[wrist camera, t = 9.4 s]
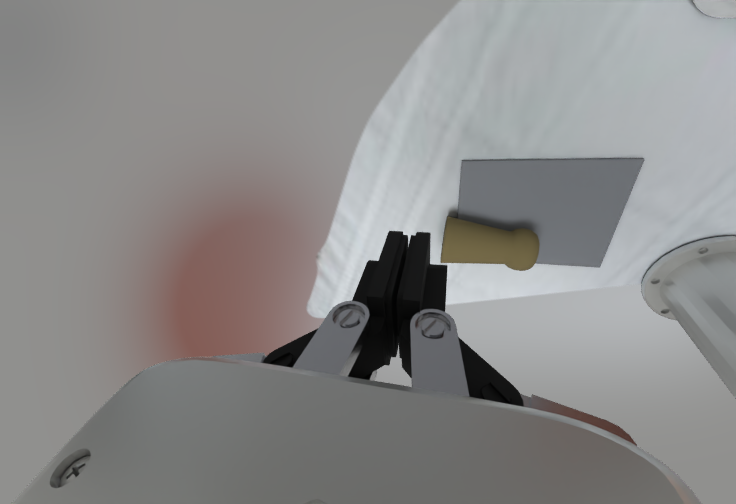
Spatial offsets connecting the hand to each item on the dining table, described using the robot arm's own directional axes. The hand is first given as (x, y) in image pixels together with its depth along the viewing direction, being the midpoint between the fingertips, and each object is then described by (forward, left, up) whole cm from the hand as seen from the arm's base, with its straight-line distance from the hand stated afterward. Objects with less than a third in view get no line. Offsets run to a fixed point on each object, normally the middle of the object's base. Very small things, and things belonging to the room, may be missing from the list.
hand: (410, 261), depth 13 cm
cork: (-1, +14, -24) cm, 28 cm away
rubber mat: (-12, +12, -27) cm, 32 cm away
